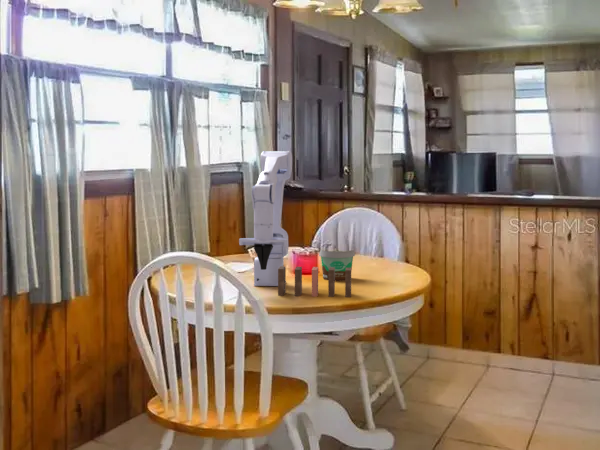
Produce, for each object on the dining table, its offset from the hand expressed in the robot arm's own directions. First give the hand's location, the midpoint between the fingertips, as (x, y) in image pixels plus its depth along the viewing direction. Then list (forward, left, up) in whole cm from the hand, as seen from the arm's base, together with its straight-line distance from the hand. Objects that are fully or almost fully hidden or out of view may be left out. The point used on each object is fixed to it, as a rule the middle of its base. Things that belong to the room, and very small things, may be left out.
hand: (263, 269), depth 214 cm
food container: (+22, +25, -8) cm, 34 cm away
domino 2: (+11, 0, -8) cm, 13 cm away
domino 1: (+6, 0, -8) cm, 9 cm away
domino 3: (+16, 0, -8) cm, 17 cm away
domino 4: (+21, 0, -8) cm, 22 cm away
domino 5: (+26, 0, -8) cm, 27 cm away
